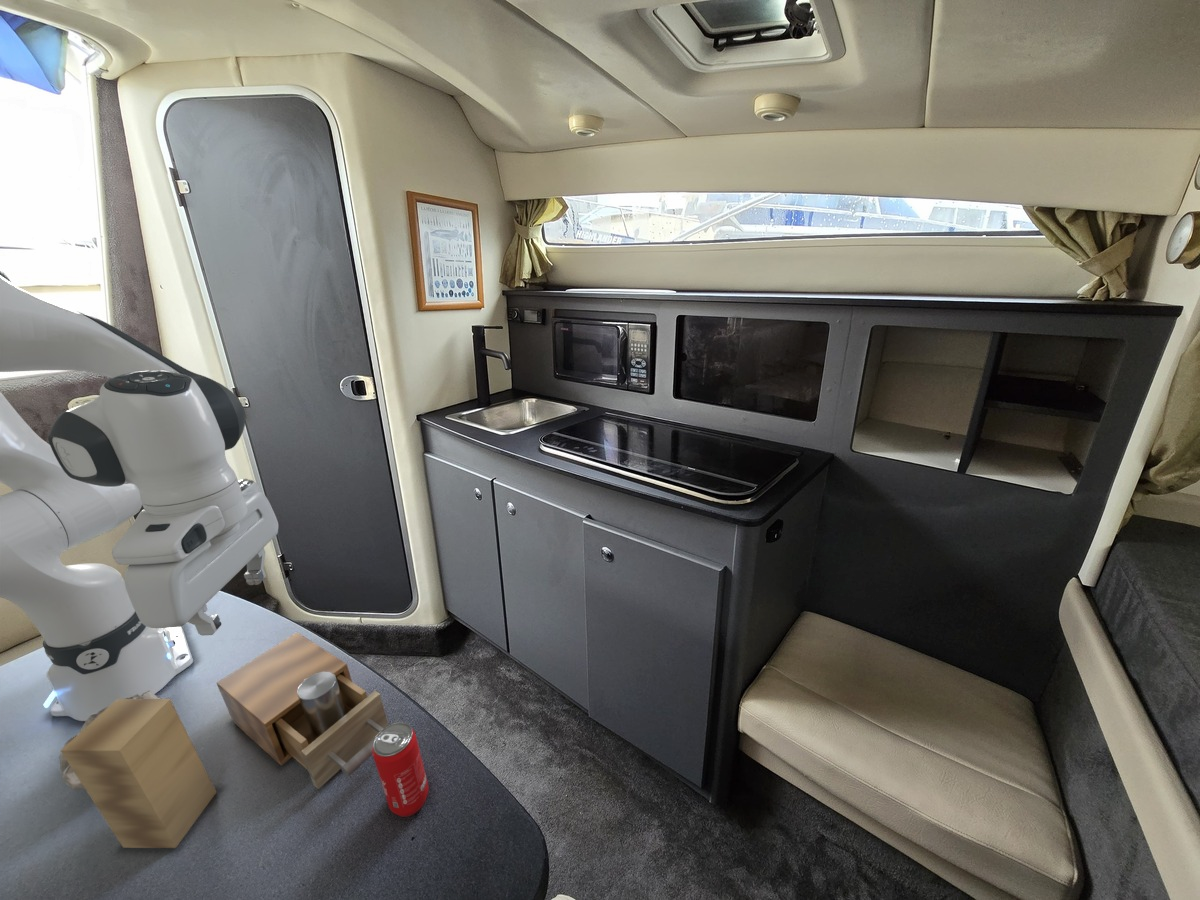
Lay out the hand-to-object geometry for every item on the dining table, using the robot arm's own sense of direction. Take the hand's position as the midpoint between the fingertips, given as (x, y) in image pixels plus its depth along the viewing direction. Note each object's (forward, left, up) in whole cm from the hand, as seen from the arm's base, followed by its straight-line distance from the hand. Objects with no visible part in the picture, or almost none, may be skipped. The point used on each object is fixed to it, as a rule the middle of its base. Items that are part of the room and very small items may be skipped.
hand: (235, 604), depth 63 cm
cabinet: (-9, +1, -28) cm, 30 cm away
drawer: (+2, +6, -27) cm, 28 cm away
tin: (+1, +6, -26) cm, 27 cm away
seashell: (-14, -20, -29) cm, 38 cm away
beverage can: (+17, +13, -29) cm, 35 cm away
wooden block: (0, -14, -28) cm, 32 cm away
